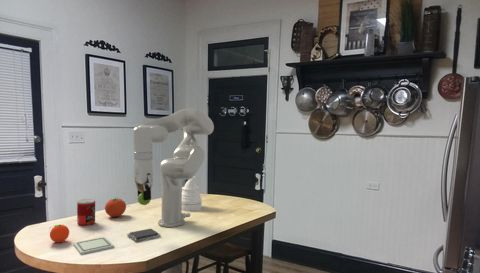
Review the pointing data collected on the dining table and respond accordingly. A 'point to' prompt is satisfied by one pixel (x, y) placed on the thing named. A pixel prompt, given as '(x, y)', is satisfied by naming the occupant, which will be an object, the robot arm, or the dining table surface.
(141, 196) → the snail figurine
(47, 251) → the dining table surface
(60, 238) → the clementine
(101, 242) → the board
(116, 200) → the tomato
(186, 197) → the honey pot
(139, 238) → the ink pad
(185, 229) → the dining table surface
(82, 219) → the canned food
